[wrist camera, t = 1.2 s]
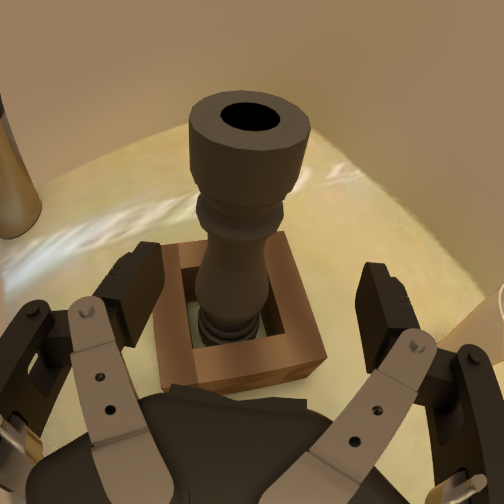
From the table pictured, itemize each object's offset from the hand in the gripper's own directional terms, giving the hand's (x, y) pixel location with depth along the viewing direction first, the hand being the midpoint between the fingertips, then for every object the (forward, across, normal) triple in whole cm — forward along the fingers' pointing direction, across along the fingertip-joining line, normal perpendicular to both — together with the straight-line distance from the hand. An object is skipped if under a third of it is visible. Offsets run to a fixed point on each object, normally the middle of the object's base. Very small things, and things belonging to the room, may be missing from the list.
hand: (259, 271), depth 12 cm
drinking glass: (+13, -22, +22) cm, 34 cm away
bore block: (+14, +4, +18) cm, 23 cm away
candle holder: (+14, +4, +18) cm, 23 cm away
